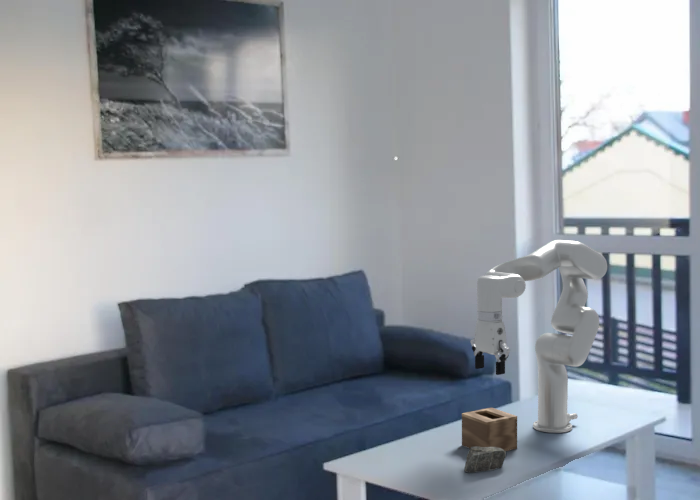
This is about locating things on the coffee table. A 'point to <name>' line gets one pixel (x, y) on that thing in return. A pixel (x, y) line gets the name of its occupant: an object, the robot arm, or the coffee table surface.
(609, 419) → the coffee table surface
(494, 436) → the box
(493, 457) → the stone
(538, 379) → the robot arm
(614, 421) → the coffee table surface
